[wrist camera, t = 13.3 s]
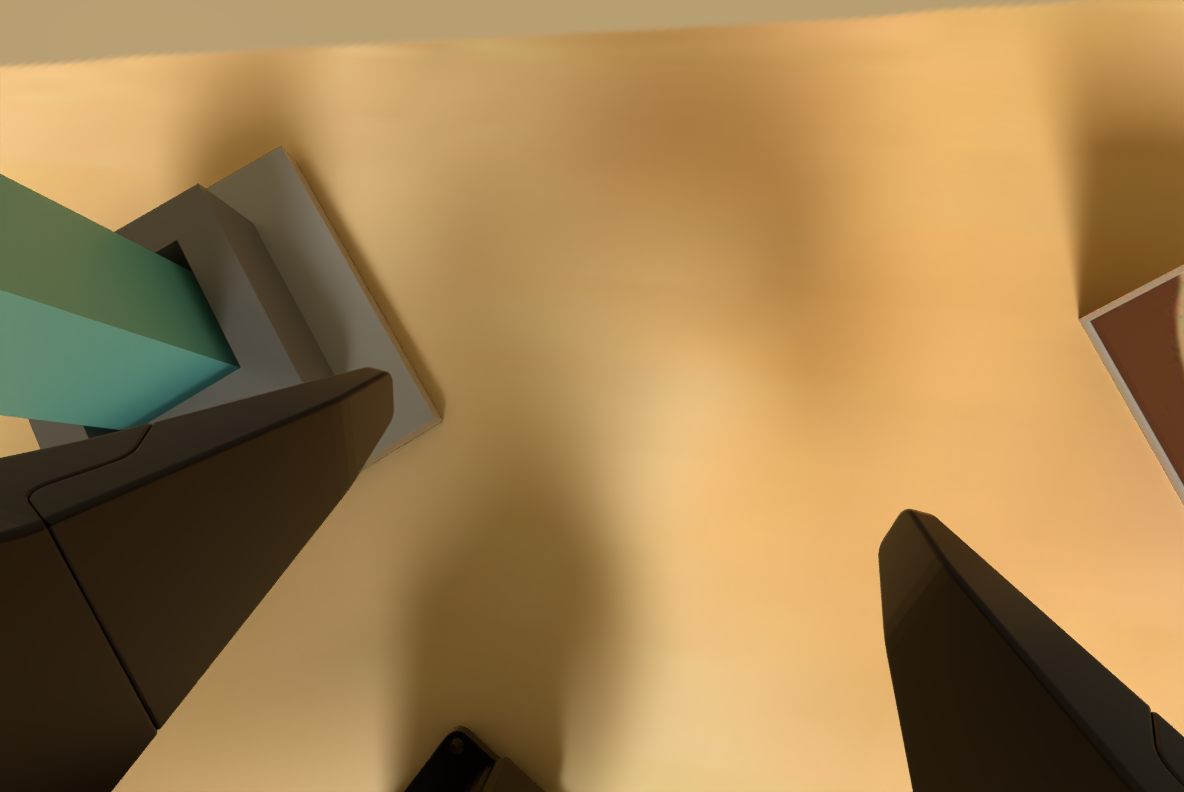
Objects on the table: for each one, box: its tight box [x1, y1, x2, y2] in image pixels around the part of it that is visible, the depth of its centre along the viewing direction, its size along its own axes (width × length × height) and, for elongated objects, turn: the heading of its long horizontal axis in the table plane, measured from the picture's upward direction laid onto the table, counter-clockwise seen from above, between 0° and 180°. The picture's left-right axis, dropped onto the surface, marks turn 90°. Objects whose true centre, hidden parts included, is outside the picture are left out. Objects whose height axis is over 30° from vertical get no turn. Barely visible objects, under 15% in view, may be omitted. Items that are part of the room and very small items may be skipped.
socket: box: [29, 146, 443, 471], centre depth 21 cm, size 14×14×4 cm
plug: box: [0, 174, 241, 430], centre depth 15 cm, size 4×4×14 cm
